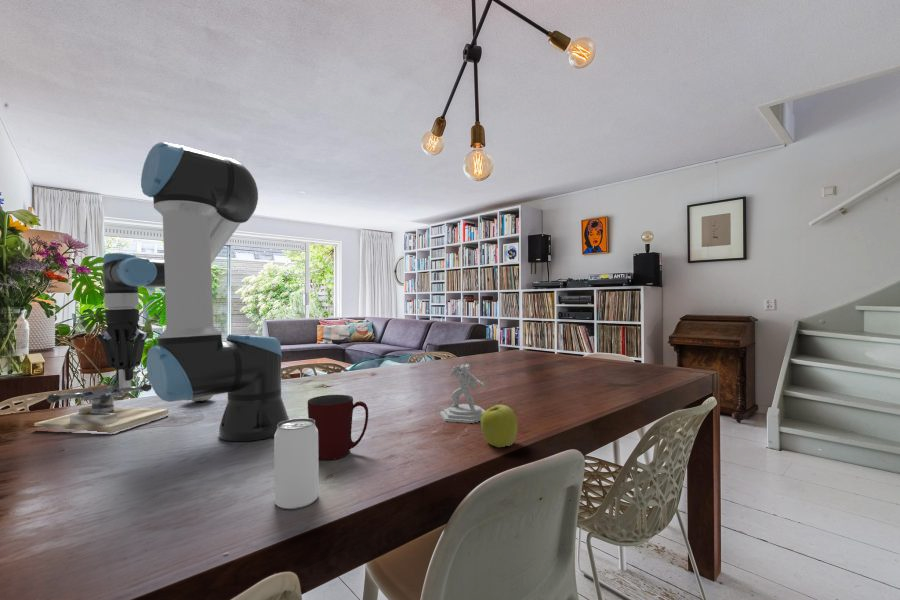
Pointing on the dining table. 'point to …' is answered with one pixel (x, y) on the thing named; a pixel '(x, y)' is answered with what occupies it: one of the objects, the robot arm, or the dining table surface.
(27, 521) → the dining table surface
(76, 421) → the stand
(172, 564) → the dining table surface
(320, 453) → the mug
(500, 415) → the apple
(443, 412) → the figurine
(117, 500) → the dining table surface
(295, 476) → the can
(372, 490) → the dining table surface
